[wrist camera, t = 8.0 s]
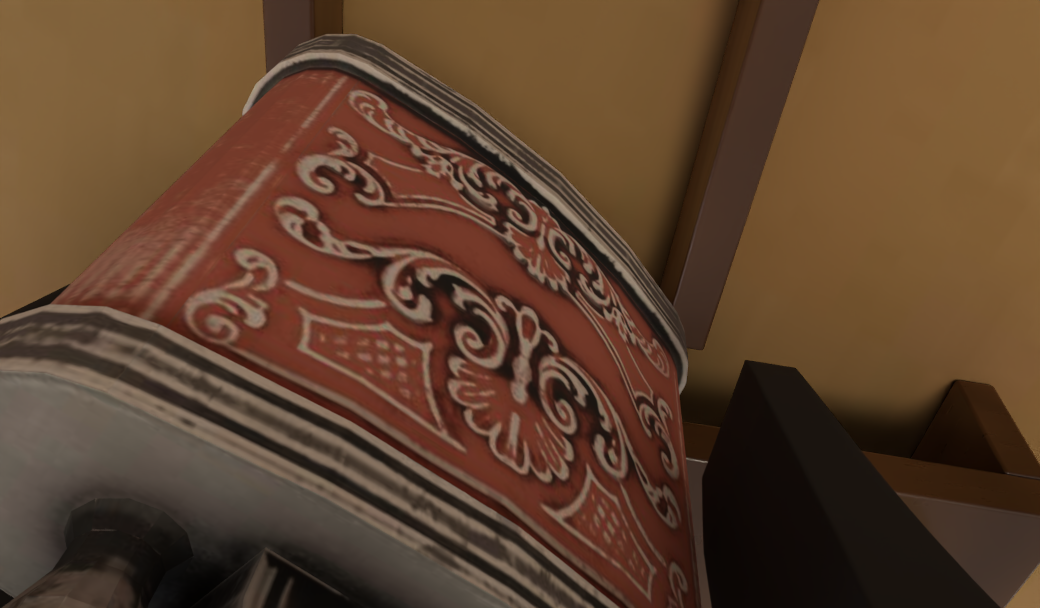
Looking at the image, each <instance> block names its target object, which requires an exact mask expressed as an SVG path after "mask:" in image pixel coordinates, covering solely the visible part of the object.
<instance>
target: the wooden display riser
mask: <svg viewBox="0 0 1040 608" xmlns="http://www.w3.org/2000/svg"><path fill="white" fill-rule="evenodd" d="M818 3H819V0H739V4H738V8H737V11H736V15H735V18H734V22H733V26H732V29H731V33H730V36H729V40H728V44H727V47H726V51H725V54H724V58H723V62H722V65H721V69H720V73H719V76H718V80H717V83H716V87H715V91H714V94H713V98H712V101H711V105H710V109H709V112H708V116H707V119H706V123H705V127H704V130H703V134H702V137H701V141H700V145H699V148H698V152H697V156H696V159H695V163H694V166H693V170H692V174H691V177H690V181H689V184H688V188H687V192H686V195H685V199H684V202H683V206H682V210H681V213H680V217H679V221H678V224H677V228H676V231H675V235H674V239H673V242H672V246H671V249H670V253H669V257H668V260H667V264H666V267H665V271H664V275H663V278H662V282H661V285H660V289H661V291H662V292H663V293H664V295H665V296H666V298H667V299H668V300H669V302H670V303H671V305H672V306H673V307H674V309H675V310H676V311H677V313H678V316H679V318H680V321H681V323H682V326H683V328H684V332H685V340H686V348H691V349H697V350H703V348H704V346H705V343H706V340H707V337H708V334H709V331H710V328H711V325H712V322H713V319H714V316H715V313H716V310H717V307H718V304H719V301H720V298H721V295H722V292H723V289H724V286H725V283H726V280H727V277H728V274H729V271H730V268H731V265H732V262H733V259H734V256H735V253H736V250H737V247H738V244H739V241H740V238H741V235H742V232H743V229H744V226H745V223H746V220H747V217H748V214H749V211H750V208H751V205H752V202H753V199H754V196H755V193H756V190H757V187H758V184H759V181H760V177H761V174H762V171H763V168H764V165H765V162H766V159H767V156H768V153H769V150H770V147H771V144H772V141H773V138H774V135H775V132H776V129H777V126H778V123H779V120H780V117H781V114H782V111H783V108H784V105H785V102H786V99H787V96H788V93H789V90H790V87H791V84H792V81H793V78H794V75H795V72H796V69H797V66H798V63H799V60H800V57H801V54H802V51H803V48H804V45H805V42H806V39H807V36H808V33H809V30H810V27H811V24H812V21H813V18H814V15H815V12H816V9H817V6H818ZM263 16H264V35H265V54H266V73H268V72H269V71H270V70H271V69H272V68H274V67H275V66H276V65H277V64H278V63H279V62H280V61H281V60H282V59H283V58H285V57H286V56H287V55H288V54H289V53H290V52H291V51H292V50H294V49H295V48H296V47H297V46H298V45H299V44H301V43H304V42H307V41H309V40H312V39H315V38H317V37H320V36H323V35H325V34H342V0H263ZM682 426H683V435H684V445H685V454H686V464H687V473H688V483H689V492H690V502H691V511H692V521H693V531H694V540H695V550H696V559H697V569H698V578H699V588H700V597H701V607H702V608H712V607H711V600H710V593H709V587H708V580H707V573H706V566H705V559H704V549H703V520H702V476H703V473H704V471H705V468H706V465H707V462H708V460H709V457H710V454H711V452H712V449H713V446H714V444H715V441H716V438H717V435H718V433H719V430H720V427H714V426H708V425H702V424H696V423H690V422H684V421H682ZM862 452H863V453H864V454H865V456H866V457H867V458H868V459H869V461H870V462H871V463H872V464H873V466H874V467H875V468H876V469H877V471H878V472H879V473H880V474H881V475H882V477H883V478H884V479H885V480H886V481H887V483H888V484H889V485H890V486H891V488H892V489H893V490H894V491H895V492H896V494H897V495H898V496H899V497H900V498H901V499H902V501H903V502H904V503H905V504H906V505H907V507H908V508H909V509H910V510H911V511H912V512H913V513H914V515H915V516H916V517H917V518H918V519H919V520H920V521H921V523H922V524H923V525H924V526H925V527H926V528H927V530H928V531H929V532H930V533H931V534H932V535H933V536H934V537H935V539H936V540H937V541H938V542H939V543H940V544H941V545H942V546H943V547H944V548H945V549H946V550H947V552H948V553H949V554H950V555H951V556H952V557H953V558H954V559H955V560H956V561H957V562H958V563H959V565H960V566H961V567H962V568H963V569H964V570H965V571H966V572H967V573H968V574H969V575H970V576H971V578H972V579H973V580H974V581H975V582H976V583H977V584H978V585H979V586H980V587H981V588H982V589H983V590H984V591H985V592H986V593H987V594H988V595H989V596H990V597H991V598H992V599H993V600H994V601H995V602H996V603H997V604H998V606H999V607H1000V608H1005V607H1006V606H1007V604H1008V603H1009V602H1010V601H1011V599H1012V598H1013V597H1014V596H1015V594H1016V593H1017V592H1018V591H1019V589H1020V588H1021V587H1022V586H1023V584H1024V583H1025V582H1026V580H1027V579H1028V578H1029V577H1030V575H1031V574H1032V573H1033V572H1034V570H1035V569H1036V568H1037V567H1038V565H1039V564H1040V464H1039V463H1038V461H1037V459H1036V458H1035V456H1034V454H1033V452H1032V451H1031V449H1030V447H1029V446H1028V444H1027V442H1026V441H1025V439H1024V437H1023V436H1022V434H1021V432H1020V431H1019V429H1018V427H1017V425H1016V424H1015V422H1014V420H1013V419H1012V417H1011V415H1010V414H1009V412H1008V410H1007V409H1006V407H1005V405H1004V404H1003V402H1002V400H1001V399H1000V397H999V395H998V393H997V392H996V390H995V388H994V387H993V386H991V385H985V384H979V383H973V382H966V381H960V380H957V381H955V383H954V385H953V386H952V388H951V390H950V392H949V393H948V395H947V397H946V399H945V400H944V402H943V404H942V405H941V407H940V409H939V411H938V412H937V414H936V416H935V418H934V419H933V421H932V423H931V424H930V426H929V428H928V430H927V431H926V433H925V435H924V437H923V438H922V440H921V442H920V443H919V445H918V447H917V449H916V450H915V452H914V454H913V456H912V457H911V459H909V458H903V457H897V456H891V455H885V454H879V453H873V452H867V451H862Z"/></svg>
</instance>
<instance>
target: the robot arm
mask: <svg viewBox="0 0 1040 608" xmlns="http://www.w3.org/2000/svg"><path fill="white" fill-rule="evenodd" d="M69 285H70V284H69ZM69 285H67V286H65V287H63V288H61V289H59V290H57V291H55V292H53V293H51V294H49V295H47V296H45V297H43V298H41V299H38V300H36V301H34V302H32V303H30V304H28V305H26V306H24V307H22V308H20V309H18V310H16V311H14V312H12V313H10V314H8V315H6V316H4V317H2V318H0V320H2V319H3V318H7V317H10V316H13V315H16V314H20V313H23V312H26V311H29V310H33V309H36V308H39V307H42V306H46V305H49V304H51V303H52V302H53V301H54V300H55V299H56V298H57V297H58V296H59V295H60V294H61V293H62V292H63V291H64V290H65V289H66V288H67V287H68V286H69ZM702 520H703V549H704V559H705V566H706V573H707V580H708V587H709V593H710V600H711V607H712V608H1000V607H999V606H998V604H997V603H996V602H995V601H994V600H993V599H992V598H991V597H990V596H989V595H988V594H987V593H986V592H985V591H984V590H983V589H982V588H981V587H980V586H979V585H978V584H977V583H976V582H975V581H974V580H973V579H972V578H971V576H970V575H969V574H968V573H967V572H966V571H965V570H964V569H963V568H962V567H961V566H960V565H959V563H958V562H957V561H956V560H955V559H954V558H953V557H952V556H951V555H950V554H949V553H948V552H947V550H946V549H945V548H944V547H943V546H942V545H941V544H940V543H939V542H938V541H937V540H936V539H935V537H934V536H933V535H932V534H931V533H930V532H929V531H928V530H927V528H926V527H925V526H924V525H923V524H922V523H921V521H920V520H919V519H918V518H917V517H916V516H915V515H914V513H913V512H912V511H911V510H910V509H909V508H908V507H907V505H906V504H905V503H904V502H903V501H902V499H901V498H900V497H899V496H898V495H897V494H896V492H895V491H894V490H893V489H892V488H891V486H890V485H889V484H888V483H887V481H886V480H885V479H884V478H883V477H882V475H881V474H880V473H879V472H878V471H877V469H876V468H875V467H874V466H873V464H872V463H871V462H870V461H869V459H868V458H867V457H866V456H865V454H864V453H863V452H862V451H861V450H860V448H859V447H858V446H857V444H856V443H855V442H854V441H853V439H852V438H851V437H850V436H849V434H848V433H847V432H846V431H845V429H844V428H843V427H842V425H841V424H840V423H839V422H838V420H837V419H836V418H835V417H834V415H833V414H832V413H831V411H830V410H829V409H828V408H827V406H826V405H825V404H824V402H823V401H822V400H821V399H820V397H819V396H818V395H817V394H816V392H815V391H814V390H813V389H812V387H811V386H810V385H809V384H808V382H807V381H806V380H805V379H804V377H803V376H802V375H801V374H800V373H799V372H798V370H797V369H796V368H792V367H786V366H780V365H774V364H767V363H761V362H755V361H749V360H745V362H744V365H743V368H742V370H741V373H740V376H739V379H738V381H737V384H736V387H735V389H734V392H733V395H732V398H731V400H730V403H729V406H728V408H727V411H726V414H725V416H724V419H723V422H722V425H721V427H720V430H719V433H718V435H717V438H716V441H715V444H714V446H713V449H712V452H711V454H710V457H709V460H708V462H707V465H706V468H705V471H704V473H703V476H702ZM13 599H14V598H13V597H12V596H10V595H9V594H7V593H6V592H4V591H3V590H1V589H0V608H2V607H3V606H5V605H6V604H7V603H9V602H10V601H11V600H13Z"/></svg>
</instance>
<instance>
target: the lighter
mask: <svg viewBox="0 0 1040 608" xmlns="http://www.w3.org/2000/svg"><path fill="white" fill-rule="evenodd" d="M687 371H688V356H687V348H686V340H685V332H684V328H683V326H682V323H681V321H680V318H679V316H678V313H677V311H676V310H675V309H674V307H673V306H672V305H671V303H670V302H669V300H668V299H667V298H666V296H665V295H664V293H663V292H662V291H661V289H660V288H659V287H658V285H657V284H656V282H655V281H654V280H653V278H652V277H651V276H650V274H649V273H648V271H647V270H646V269H645V267H644V266H643V264H642V263H641V262H640V260H639V259H638V258H637V256H636V255H635V253H634V252H633V251H632V249H631V248H630V246H629V245H628V244H627V243H626V242H625V241H624V240H623V239H622V237H621V236H620V235H619V234H618V233H617V232H616V231H615V230H614V229H613V228H612V227H611V226H610V225H609V224H608V223H607V221H606V220H605V219H604V218H603V217H602V216H601V215H600V214H599V213H598V212H597V211H596V210H595V209H594V208H593V207H592V205H591V204H590V203H589V202H588V201H587V200H586V199H585V198H584V197H583V196H582V195H581V194H580V193H579V192H578V190H577V189H576V188H575V187H574V186H573V185H572V184H571V183H570V182H569V181H568V180H567V179H566V178H565V177H564V176H563V174H562V173H561V172H559V171H558V170H557V169H556V168H554V167H553V166H552V165H551V164H549V163H548V162H547V161H546V160H544V159H543V158H542V157H541V156H540V155H538V154H537V153H536V152H535V151H533V150H532V149H531V148H530V147H528V146H527V145H526V144H525V143H523V142H522V141H521V140H520V139H518V138H517V137H516V136H515V135H514V134H512V133H511V132H510V131H509V130H507V129H506V128H505V127H504V126H502V125H501V124H500V123H499V122H497V121H496V120H495V119H494V118H492V117H491V116H490V115H489V114H488V113H486V112H485V111H484V110H483V109H481V108H480V107H479V106H478V105H476V104H475V103H473V102H472V101H470V100H469V99H467V98H465V97H464V96H462V95H461V94H459V93H458V92H456V91H454V90H453V89H451V88H450V87H448V86H447V85H445V84H443V83H442V82H440V81H439V80H437V79H436V78H434V77H432V76H431V75H429V74H428V73H426V72H425V71H423V70H421V69H420V68H418V67H417V66H415V65H414V64H412V63H410V62H409V61H407V60H406V59H404V58H403V57H401V56H400V55H398V54H396V53H395V52H393V51H392V50H390V49H389V48H387V47H385V46H384V45H382V44H380V43H377V42H374V41H372V40H369V39H367V38H364V37H362V36H359V35H357V34H325V35H323V36H320V37H317V38H315V39H312V40H309V41H307V42H304V43H301V44H299V45H298V46H297V47H296V48H295V49H294V50H292V51H291V52H290V53H289V54H288V55H287V56H286V57H285V58H283V59H282V60H281V61H280V62H279V63H278V64H277V65H276V66H275V67H274V68H272V69H271V70H270V71H269V72H268V73H267V74H266V75H265V76H264V77H263V78H262V79H261V80H259V81H258V82H257V83H256V85H255V87H254V89H253V91H252V93H251V95H250V97H249V99H248V101H247V103H246V105H245V107H244V109H243V113H242V117H241V118H240V119H239V120H238V121H237V122H236V123H235V124H234V125H233V126H232V127H231V128H230V129H229V130H228V131H227V132H226V133H225V134H224V135H223V136H222V137H221V138H220V139H219V140H218V141H217V142H216V143H215V144H214V145H213V146H212V147H211V148H209V149H208V150H207V151H206V152H205V153H204V154H203V155H202V156H201V157H200V158H199V159H198V160H197V161H196V162H195V163H194V164H193V165H192V166H191V167H190V168H189V169H188V170H187V171H186V172H185V173H184V174H183V175H182V176H181V177H180V178H179V179H178V180H177V181H176V182H175V183H174V184H173V185H172V186H171V187H170V188H169V189H168V190H166V191H165V192H164V193H163V194H162V195H161V196H160V197H159V198H158V199H157V200H156V201H155V202H154V203H153V204H152V205H151V206H150V207H149V208H148V209H147V210H146V211H145V212H144V213H143V214H142V215H141V216H140V217H139V218H138V219H137V220H136V221H135V222H134V223H133V224H132V225H131V226H130V227H129V228H128V229H127V230H126V231H125V232H123V233H122V234H121V235H120V236H119V237H118V238H117V239H116V240H115V241H114V242H113V243H112V244H111V245H110V246H109V247H108V248H107V249H106V250H105V251H104V252H103V253H102V254H101V255H100V256H99V257H98V258H97V259H96V260H95V261H94V262H93V263H92V264H91V265H90V266H89V267H88V268H87V269H86V270H85V271H84V272H83V273H82V274H80V275H79V276H78V277H77V278H76V279H75V280H74V281H73V282H72V283H71V284H70V285H69V286H68V287H67V288H66V289H65V290H64V291H63V292H62V293H61V294H60V295H59V296H58V297H57V298H56V299H55V300H54V301H53V302H52V303H51V304H49V305H46V306H42V307H39V308H36V309H33V310H29V311H26V312H23V313H20V314H16V315H13V316H10V317H7V318H3V319H2V320H0V589H1V590H3V591H4V592H6V593H7V594H9V595H10V596H12V597H13V598H14V599H13V600H11V601H10V602H9V603H7V604H6V605H5V606H3V607H2V608H702V607H701V597H700V588H699V578H698V569H697V559H696V550H695V540H694V531H693V521H692V511H691V502H690V492H689V483H688V473H687V464H686V454H685V445H684V435H683V426H682V416H681V406H680V397H679V395H680V393H681V391H682V390H683V388H684V386H685V384H686V381H687Z"/></svg>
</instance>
